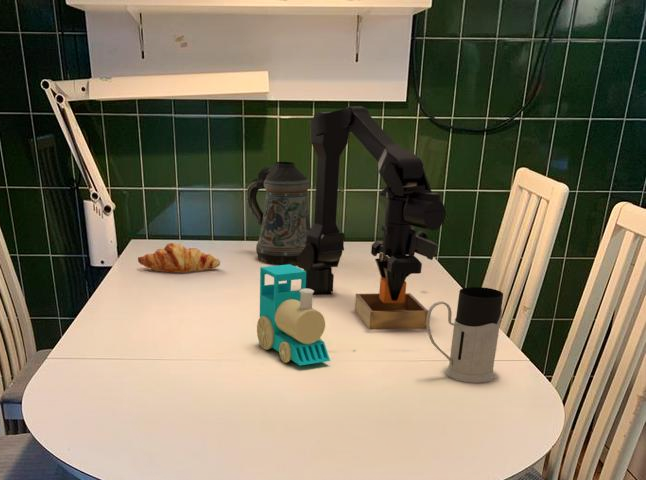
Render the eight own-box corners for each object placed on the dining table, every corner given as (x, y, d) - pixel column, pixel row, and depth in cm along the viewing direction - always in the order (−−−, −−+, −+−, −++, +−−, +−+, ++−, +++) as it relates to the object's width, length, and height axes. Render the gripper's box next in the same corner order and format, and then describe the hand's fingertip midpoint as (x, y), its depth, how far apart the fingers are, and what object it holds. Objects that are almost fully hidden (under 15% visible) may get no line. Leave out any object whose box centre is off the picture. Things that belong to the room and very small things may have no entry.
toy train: (295, 371, 148) (298, 288, 141) (255, 344, 161) (256, 267, 154) (333, 365, 152) (338, 284, 145) (291, 339, 164) (293, 263, 157)
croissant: (219, 279, 219) (219, 249, 219) (221, 270, 209) (221, 238, 209) (138, 278, 216) (138, 248, 216) (137, 268, 206) (136, 236, 206)
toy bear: (383, 303, 173) (386, 267, 170) (378, 297, 177) (381, 262, 173) (404, 303, 174) (408, 266, 170) (399, 297, 177) (402, 262, 174)
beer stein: (316, 267, 220) (320, 167, 208) (243, 264, 220) (244, 165, 208) (314, 253, 235) (318, 160, 223) (246, 251, 235) (247, 158, 223)
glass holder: (503, 380, 147) (516, 297, 140) (431, 386, 143) (441, 302, 136) (479, 364, 154) (491, 284, 147) (410, 370, 150) (418, 288, 143)
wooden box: (368, 331, 170) (370, 312, 168) (354, 312, 183) (355, 293, 181) (426, 331, 172) (428, 311, 170) (408, 311, 184) (410, 293, 183)
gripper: (450, 231, 160) (441, 309, 168) (423, 214, 177) (416, 286, 184) (395, 231, 159) (388, 310, 166) (373, 213, 175) (367, 286, 183)
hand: (391, 297), depth 175 cm, fingers closed on toy bear, 4 cm apart
